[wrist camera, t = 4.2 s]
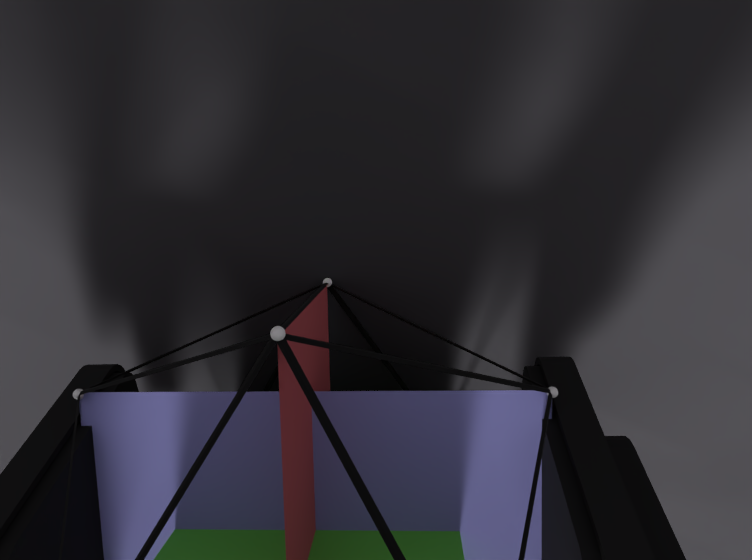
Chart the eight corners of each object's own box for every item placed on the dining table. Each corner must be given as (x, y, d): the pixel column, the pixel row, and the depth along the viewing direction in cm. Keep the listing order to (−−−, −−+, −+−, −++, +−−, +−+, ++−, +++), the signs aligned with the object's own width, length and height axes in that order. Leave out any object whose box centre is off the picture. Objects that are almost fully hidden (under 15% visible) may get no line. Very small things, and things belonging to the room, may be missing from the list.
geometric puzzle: (8, 158, 7) (-299, 1145, 4) (583, 145, 7) (754, 1208, 4) (196, 346, 14) (136, 786, 11) (500, 343, 14) (536, 797, 10)
